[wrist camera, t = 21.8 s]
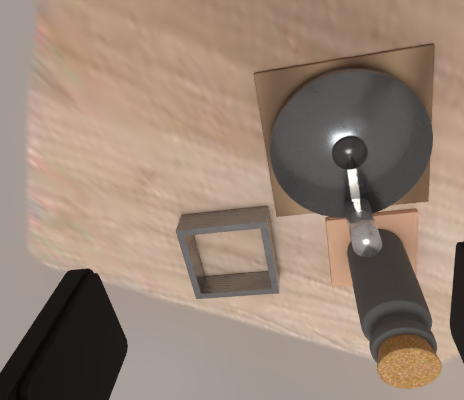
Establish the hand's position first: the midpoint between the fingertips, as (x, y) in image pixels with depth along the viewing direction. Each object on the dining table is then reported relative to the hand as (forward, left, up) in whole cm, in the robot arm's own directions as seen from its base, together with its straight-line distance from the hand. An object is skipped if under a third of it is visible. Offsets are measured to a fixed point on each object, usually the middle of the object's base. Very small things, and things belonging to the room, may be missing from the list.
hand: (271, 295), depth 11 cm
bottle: (-7, +22, -30) cm, 38 cm away
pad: (-7, +22, -30) cm, 38 cm away
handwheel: (-5, +9, -30) cm, 32 cm away
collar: (+8, +20, -30) cm, 37 cm away
